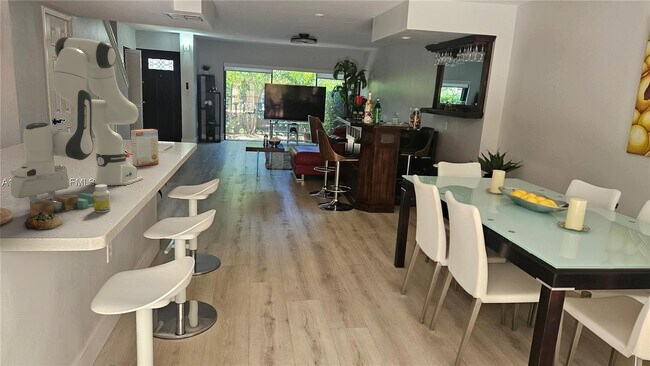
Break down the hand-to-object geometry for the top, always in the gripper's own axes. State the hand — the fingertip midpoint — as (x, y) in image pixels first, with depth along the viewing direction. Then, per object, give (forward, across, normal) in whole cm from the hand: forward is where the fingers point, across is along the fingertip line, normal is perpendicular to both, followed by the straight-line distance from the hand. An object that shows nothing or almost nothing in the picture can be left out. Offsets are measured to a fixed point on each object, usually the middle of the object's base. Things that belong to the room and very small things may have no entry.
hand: (43, 204), depth 156 cm
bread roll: (+2, +12, +16) cm, 20 cm away
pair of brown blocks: (+2, 0, +6) cm, 6 cm away
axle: (+2, 0, +2) cm, 3 cm away
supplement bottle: (+2, -9, +18) cm, 21 cm away
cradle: (+2, -12, +6) cm, 14 cm away
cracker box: (+2, -92, -34) cm, 98 cm away
